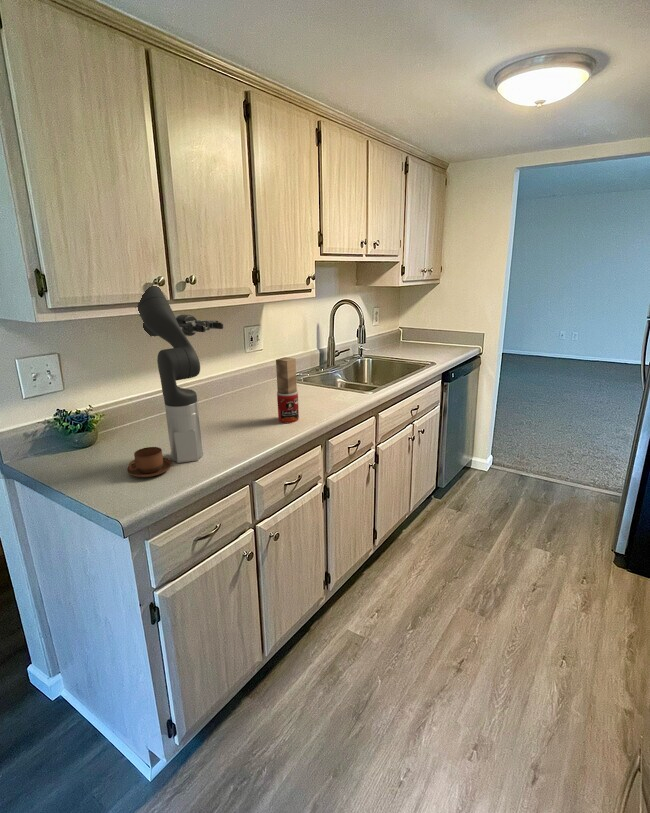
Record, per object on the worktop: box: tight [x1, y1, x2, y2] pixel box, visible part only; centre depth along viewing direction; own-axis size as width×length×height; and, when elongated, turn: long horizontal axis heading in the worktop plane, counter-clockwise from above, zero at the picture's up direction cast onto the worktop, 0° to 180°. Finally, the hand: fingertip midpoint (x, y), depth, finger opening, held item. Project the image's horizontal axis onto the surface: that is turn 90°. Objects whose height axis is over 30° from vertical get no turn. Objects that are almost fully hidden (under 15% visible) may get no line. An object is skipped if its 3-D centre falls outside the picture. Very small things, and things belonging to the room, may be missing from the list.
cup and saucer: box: [126, 446, 173, 478], centre depth 132 cm, size 12×12×6 cm
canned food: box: [276, 390, 300, 424], centre depth 172 cm, size 8×8×11 cm
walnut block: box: [275, 356, 298, 394], centre depth 169 cm, size 5×5×12 cm
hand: (213, 327), depth 162 cm, fingers open, 8 cm apart
